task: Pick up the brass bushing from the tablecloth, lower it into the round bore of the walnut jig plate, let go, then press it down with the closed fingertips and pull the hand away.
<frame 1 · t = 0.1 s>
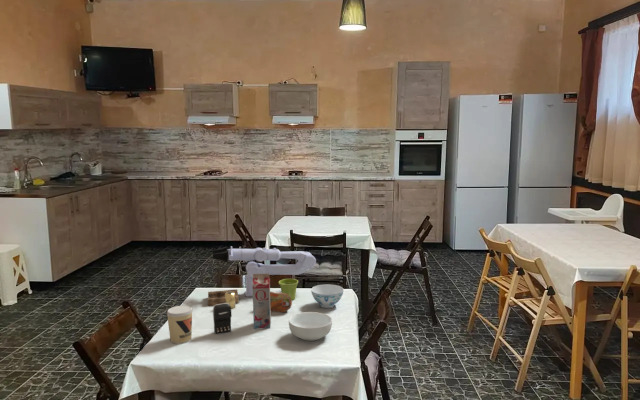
hand: (212, 254, 224), 22 cm above the table, tool horizontal, fingers open, 7 cm apart
chinaware: (327, 305, 213), on the table
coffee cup: (181, 340, 177), on the table
cereal bowl: (310, 337, 179), on the table
plant pot: (288, 299, 223), on the table
battery charger: (223, 332, 184), on the table
tin: (276, 310, 207), on the table
bushing: (230, 307, 212), on the table
juice carton: (262, 325, 190), on the table
jig: (223, 300, 222), on the table
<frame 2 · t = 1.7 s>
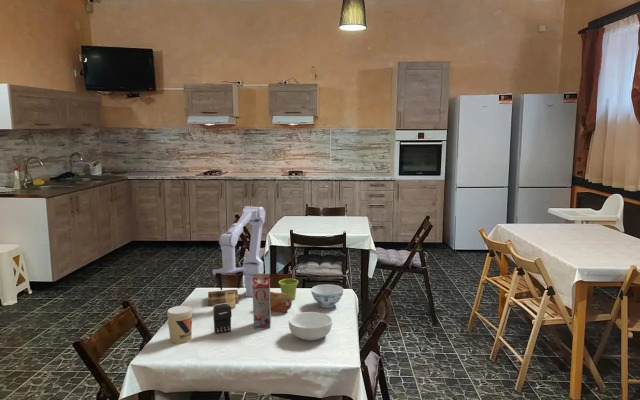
hand: (229, 288, 210), 9 cm above the table, tool pointing down, fingers open, 7 cm apart
nothing on the table moved.
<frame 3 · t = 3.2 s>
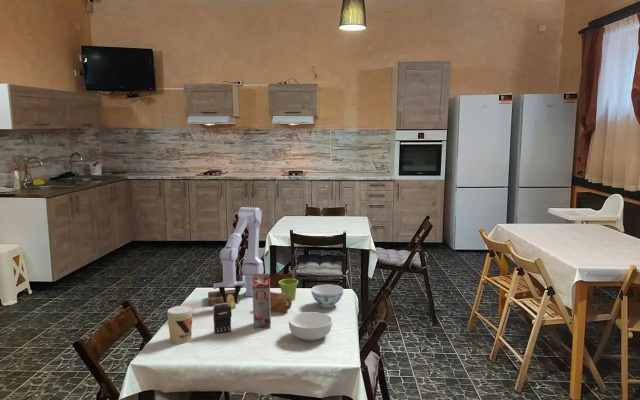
hand: (230, 302, 211), 2 cm above the table, tool pointing down, fingers closed on bushing, 4 cm apart
bushing: (230, 307, 212), on the table, touching gripper
everything else where it was.
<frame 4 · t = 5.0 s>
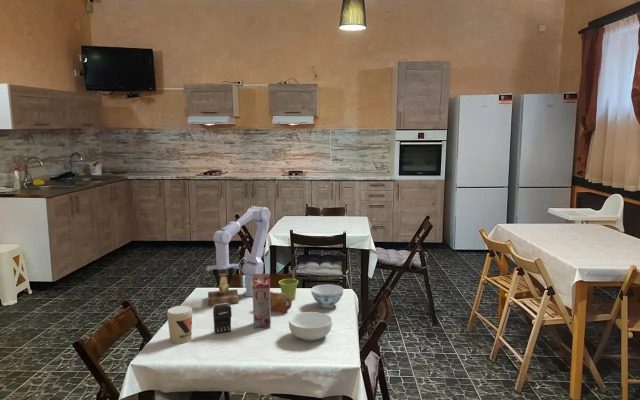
hand: (223, 284, 216), 9 cm above the table, tool pointing down, fingers closed on bushing, 4 cm apart
bushing: (223, 289, 216), point 7 cm above the table, touching gripper
everything else where it was.
when the fingers open (3 cm above the table, at t = 6.9 s): bushing stays where it is, resting in jig.
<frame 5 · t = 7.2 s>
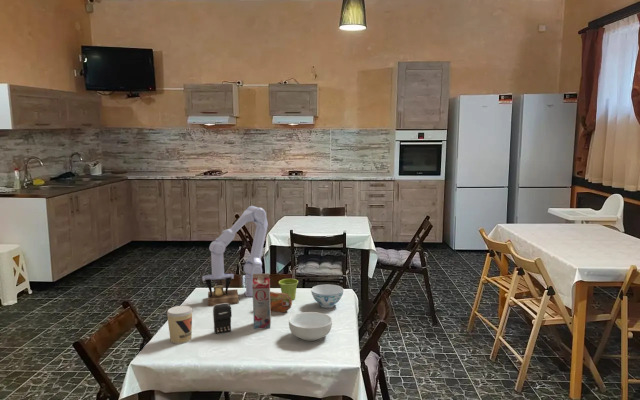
hand: (218, 293, 221), 3 cm above the table, tool pointing down, fingers open, 6 cm apart
bushing: (219, 300, 221), resting in jig
everything else where it was.
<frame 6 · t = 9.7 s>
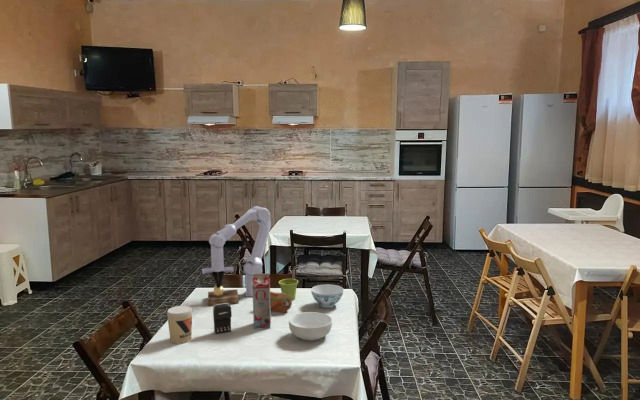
hand: (218, 286, 220), 7 cm above the table, tool pointing down, fingers closed, pressing on bushing
bushing: (219, 301, 221), resting in jig, touching gripper
everything else where it was.
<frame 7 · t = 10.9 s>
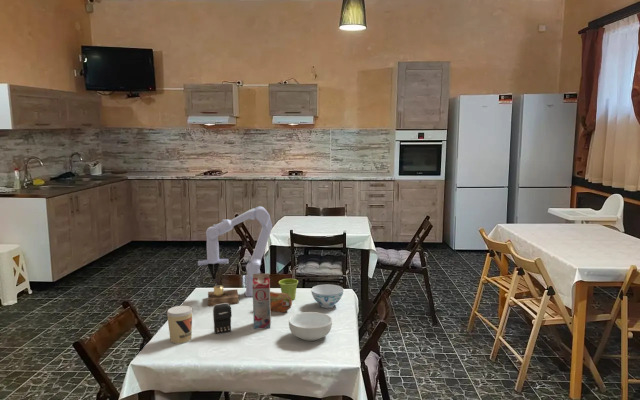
hand: (214, 278, 225), 9 cm above the table, tool pointing down, fingers closed
bushing: (219, 300, 221), resting in jig
everything else where it was.
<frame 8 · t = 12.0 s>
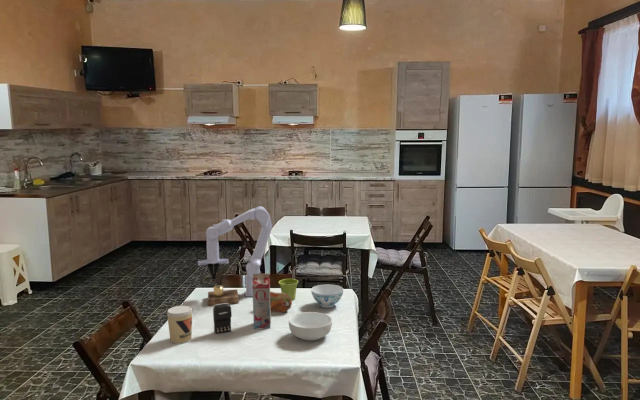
hand: (214, 278, 225), 9 cm above the table, tool pointing down, fingers closed
nothing on the table moved.
at the end: bushing 0.1 cm from the target spot on the jig, point 0.0 cm above the jig's base; bushing tilted 1°; the gripper is holding nothing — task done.
